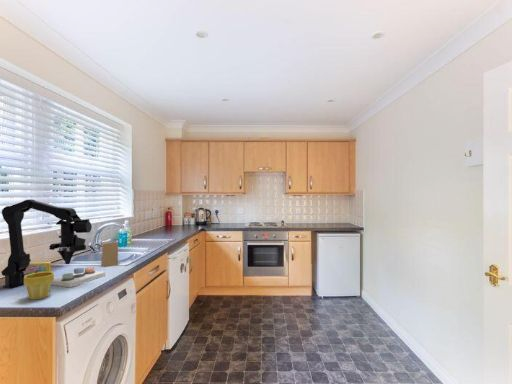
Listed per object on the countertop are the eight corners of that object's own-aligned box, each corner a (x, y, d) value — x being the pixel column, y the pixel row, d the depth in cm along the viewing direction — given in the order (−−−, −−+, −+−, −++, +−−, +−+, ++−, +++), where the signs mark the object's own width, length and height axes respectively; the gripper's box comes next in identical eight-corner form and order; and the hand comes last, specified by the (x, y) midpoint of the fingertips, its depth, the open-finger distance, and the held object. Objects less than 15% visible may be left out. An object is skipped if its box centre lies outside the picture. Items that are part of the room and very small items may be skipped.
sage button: (66, 280, 135) (66, 276, 135) (60, 279, 137) (60, 275, 137) (75, 277, 139) (74, 273, 139) (68, 276, 141) (68, 272, 141)
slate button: (77, 274, 141) (77, 270, 141) (71, 273, 142) (71, 269, 142) (85, 271, 145) (85, 268, 145) (79, 271, 146) (79, 267, 146)
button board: (69, 287, 132) (69, 282, 132) (49, 284, 137) (49, 279, 137) (105, 275, 151) (105, 271, 151) (86, 273, 155) (86, 269, 155)
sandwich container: (115, 260, 186) (114, 238, 186) (118, 265, 173) (118, 241, 173) (100, 262, 181) (100, 240, 181) (102, 267, 168) (102, 243, 168)
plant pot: (50, 291, 127) (50, 270, 127) (56, 296, 121) (56, 274, 121) (21, 297, 119) (21, 275, 119) (26, 303, 113) (26, 279, 113)
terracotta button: (88, 273, 146) (88, 269, 146) (82, 272, 148) (82, 268, 148) (95, 271, 151) (95, 267, 151) (90, 270, 152) (90, 266, 152)
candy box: (16, 278, 146) (16, 263, 146) (20, 277, 149) (19, 262, 149) (49, 277, 148) (49, 262, 148) (51, 276, 150) (51, 261, 150)
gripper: (95, 231, 143) (95, 261, 142) (70, 230, 149) (70, 259, 149) (74, 234, 132) (75, 267, 132) (48, 233, 138) (48, 264, 138)
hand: (67, 263), depth 138 cm, fingers closed
